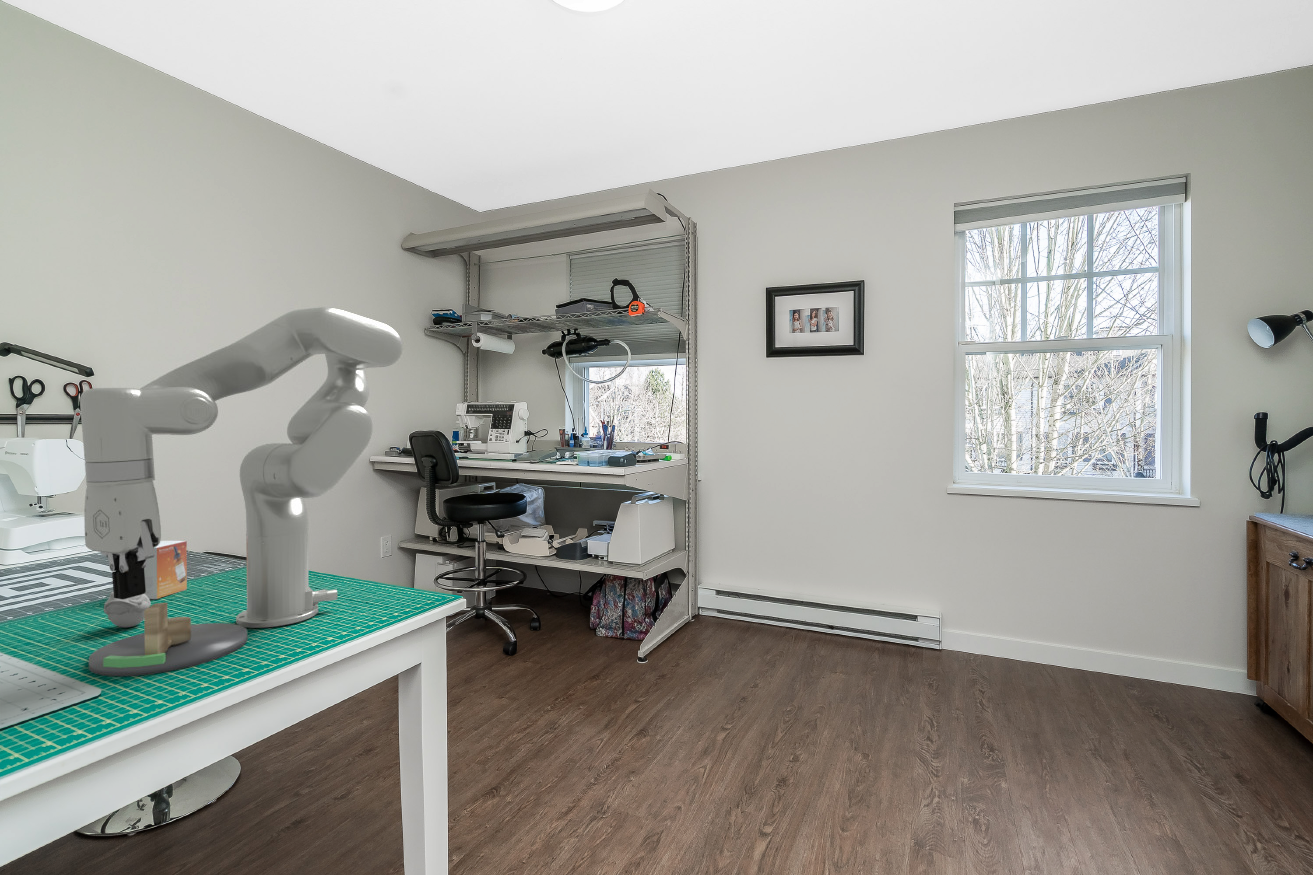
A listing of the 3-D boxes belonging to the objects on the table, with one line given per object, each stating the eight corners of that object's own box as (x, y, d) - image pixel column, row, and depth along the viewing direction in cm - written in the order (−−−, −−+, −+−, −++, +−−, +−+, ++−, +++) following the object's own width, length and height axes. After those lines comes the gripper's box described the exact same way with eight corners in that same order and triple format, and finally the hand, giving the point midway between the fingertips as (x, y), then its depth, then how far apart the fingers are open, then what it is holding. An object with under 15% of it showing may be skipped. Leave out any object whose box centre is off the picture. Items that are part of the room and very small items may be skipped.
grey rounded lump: (93, 635, 100) (93, 593, 100) (118, 622, 107) (118, 583, 107) (137, 632, 102) (137, 591, 102) (159, 619, 108) (159, 580, 108)
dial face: (241, 622, 107) (241, 609, 107) (253, 654, 92) (253, 638, 92) (95, 647, 95) (94, 632, 95) (81, 688, 80) (81, 670, 80)
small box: (156, 600, 121) (156, 547, 120) (128, 599, 121) (128, 547, 120) (188, 589, 129) (187, 540, 128) (162, 589, 129) (161, 540, 128)
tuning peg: (161, 637, 94) (161, 593, 94) (195, 634, 96) (194, 590, 96) (132, 660, 85) (131, 611, 85) (170, 656, 87) (169, 608, 87)
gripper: (58, 474, 87) (68, 598, 88) (122, 477, 82) (131, 610, 83) (120, 468, 94) (128, 584, 95) (182, 471, 89) (190, 593, 90)
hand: (130, 595), depth 89 cm, fingers closed
